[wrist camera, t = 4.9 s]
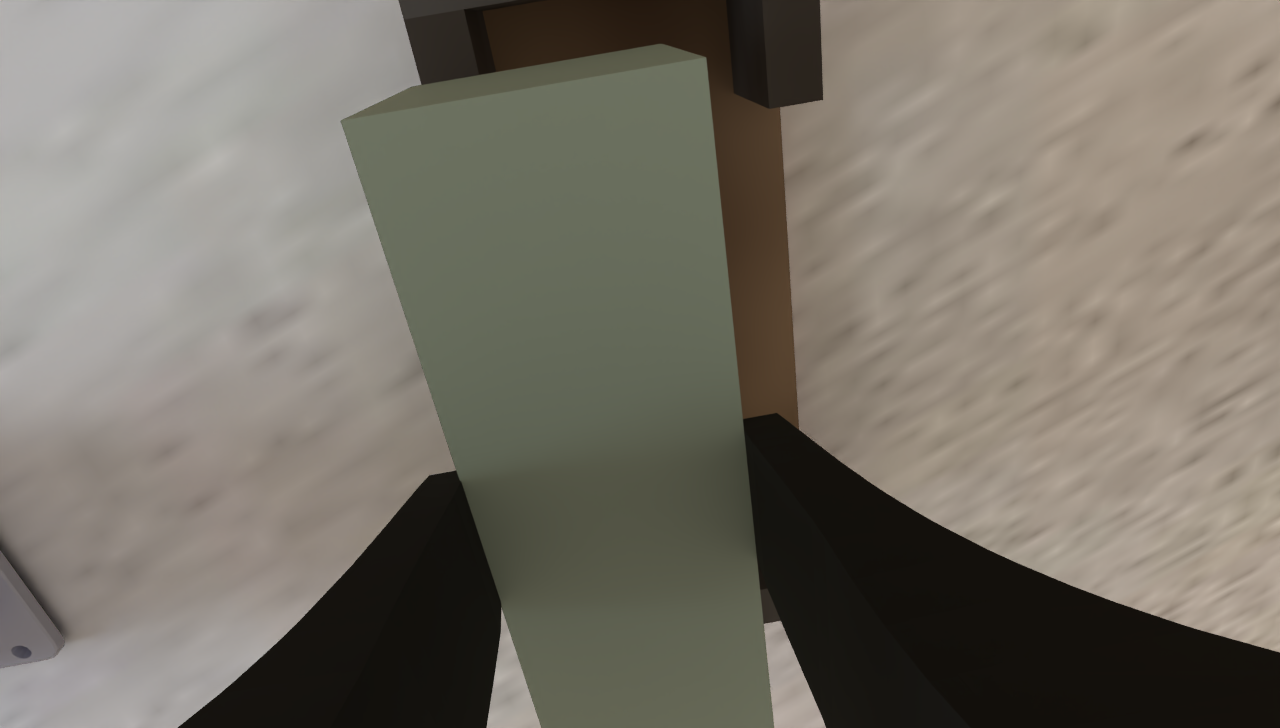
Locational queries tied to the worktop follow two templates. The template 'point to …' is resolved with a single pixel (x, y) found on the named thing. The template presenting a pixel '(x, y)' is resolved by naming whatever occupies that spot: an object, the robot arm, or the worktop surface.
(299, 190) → the worktop surface
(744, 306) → the end cap cradle
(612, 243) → the stone
